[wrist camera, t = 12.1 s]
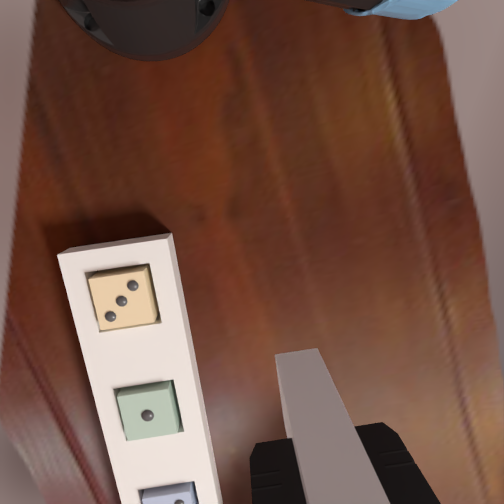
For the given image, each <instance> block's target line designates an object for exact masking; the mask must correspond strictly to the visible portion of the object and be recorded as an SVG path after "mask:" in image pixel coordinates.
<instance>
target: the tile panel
mask: <svg viewBox="0 0 504 504" xmlns="http://www.w3.org/2000/svg"><path fill="white" fill-rule="evenodd" d="M57 257H58V260H59V264H60V268H61V272H62V276H63V280H64V283H65V287H66V291H67V295H68V299H69V303H70V307H71V310H72V314H73V318H74V322H75V326H76V330H77V334H78V337H79V341H80V345H81V349H82V353H83V357H84V361H85V364H86V368H87V372H88V376H89V380H90V384H91V387H92V391H93V395H94V399H95V403H96V407H97V411H98V414H99V418H100V422H101V426H102V430H103V434H104V438H105V441H106V445H107V449H108V453H109V457H110V461H111V465H112V468H113V472H114V476H115V480H116V484H117V488H118V491H119V495H120V499H121V503H122V504H143V501H142V497H143V493H144V489H147V488H153V487H159V486H165V485H172V484H178V483H184V482H190V481H195V486H196V491H197V496H198V501H199V504H223V501H222V495H221V490H220V485H219V479H218V474H217V469H216V464H215V458H214V453H213V448H212V442H211V437H210V432H209V427H208V421H207V416H206V411H205V405H204V400H203V395H202V390H201V384H200V379H199V374H198V368H197V363H196V358H195V353H194V347H193V342H192V337H191V331H190V326H189V321H188V316H187V310H186V305H185V300H184V294H183V289H182V284H181V279H180V273H179V268H178V263H177V257H176V252H175V247H174V242H173V236H172V233H167V234H160V235H153V236H146V237H140V238H133V239H126V240H119V241H113V242H106V243H99V244H92V245H85V246H79V247H72V248H69V249H67V250H65V251H63V252H61V253H59V254H58V255H57ZM145 263H150V268H151V272H152V277H153V282H154V287H155V292H156V297H157V302H158V306H159V311H160V313H158V315H157V318H156V320H155V322H152V323H146V324H139V325H133V326H126V327H120V328H113V329H106V330H101V329H100V325H99V321H98V317H97V313H96V309H95V305H94V301H93V296H92V292H91V288H90V284H89V280H88V279H89V278H90V277H92V276H93V275H94V274H95V273H96V272H97V271H98V270H105V269H112V268H119V267H125V266H132V265H139V264H145ZM173 379H174V384H175V389H176V394H177V399H178V404H179V408H180V413H181V418H180V424H179V429H178V433H177V434H170V435H164V436H158V437H151V438H145V439H139V440H132V441H128V440H127V436H126V432H125V428H124V424H123V420H122V415H121V411H120V407H119V403H118V399H117V396H118V394H119V392H120V390H121V388H122V387H128V386H134V385H141V384H147V383H154V382H160V381H167V380H173Z"/></svg>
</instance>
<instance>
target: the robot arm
mask: <svg viewBox="0 0 504 504" xmlns="http://www.w3.org/2000/svg"><path fill="white" fill-rule="evenodd" d="M59 1H60V2H61V4H62V6H63V7H64V9H65V10H66V12H67V13H68V14H69V16H70V17H71V18H72V19H73V20H74V22H75V23H76V24H77V25H78V26H79V27H80V28H81V29H82V30H83V31H85V32H86V33H87V34H88V35H89V36H90V37H91V38H92V39H94V40H95V41H96V42H97V43H99V44H100V45H102V46H103V47H105V48H106V49H108V50H110V51H112V52H114V53H116V54H118V55H121V56H123V57H127V58H130V59H135V60H141V61H161V60H167V59H171V58H175V57H178V56H180V55H183V54H185V53H187V52H189V51H190V50H192V49H194V48H195V47H197V46H198V45H199V44H201V43H202V42H203V41H204V40H205V39H206V38H207V37H208V36H209V35H210V34H211V33H212V32H213V30H214V29H215V28H216V26H217V25H218V23H219V22H220V20H221V18H222V16H223V14H224V12H225V10H226V8H227V5H228V2H229V0H59ZM306 1H311V2H316V3H320V4H325V5H330V6H334V7H339V8H343V9H344V11H345V12H346V13H348V14H352V15H356V16H365V15H371V14H375V15H381V16H387V17H393V18H400V19H409V20H412V19H419V18H423V17H424V16H427V15H432V14H434V13H436V12H440V11H442V10H444V9H446V8H447V7H449V6H451V5H452V4H453V3H455V2H456V1H458V0H306ZM275 359H276V367H277V374H278V381H279V389H280V396H281V403H282V410H283V418H284V424H285V429H286V434H287V439H281V440H275V441H268V442H262V443H256V445H255V447H254V449H253V452H252V454H251V456H250V473H251V488H252V503H253V504H441V503H440V502H439V500H438V499H437V497H436V495H435V494H434V492H433V490H432V489H431V487H430V486H429V484H428V482H427V481H426V479H425V477H424V476H423V474H422V473H421V471H420V469H419V468H418V466H417V464H415V462H414V460H413V458H412V456H411V455H410V453H409V451H407V448H406V447H405V445H404V443H403V442H402V440H401V438H400V437H399V435H398V434H397V433H396V432H395V431H393V430H392V429H391V428H390V427H388V426H387V425H386V424H384V423H383V422H380V423H374V424H368V425H361V426H355V427H354V425H353V423H352V421H351V419H350V417H349V415H348V412H347V410H346V408H345V406H344V404H343V402H342V400H341V397H340V395H339V393H338V391H337V389H336V387H335V385H334V382H333V380H332V378H331V376H330V374H329V372H328V370H327V368H326V365H325V363H324V361H323V359H322V357H321V355H320V353H319V350H318V348H315V349H308V350H302V351H295V352H289V353H282V354H275Z"/></svg>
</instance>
